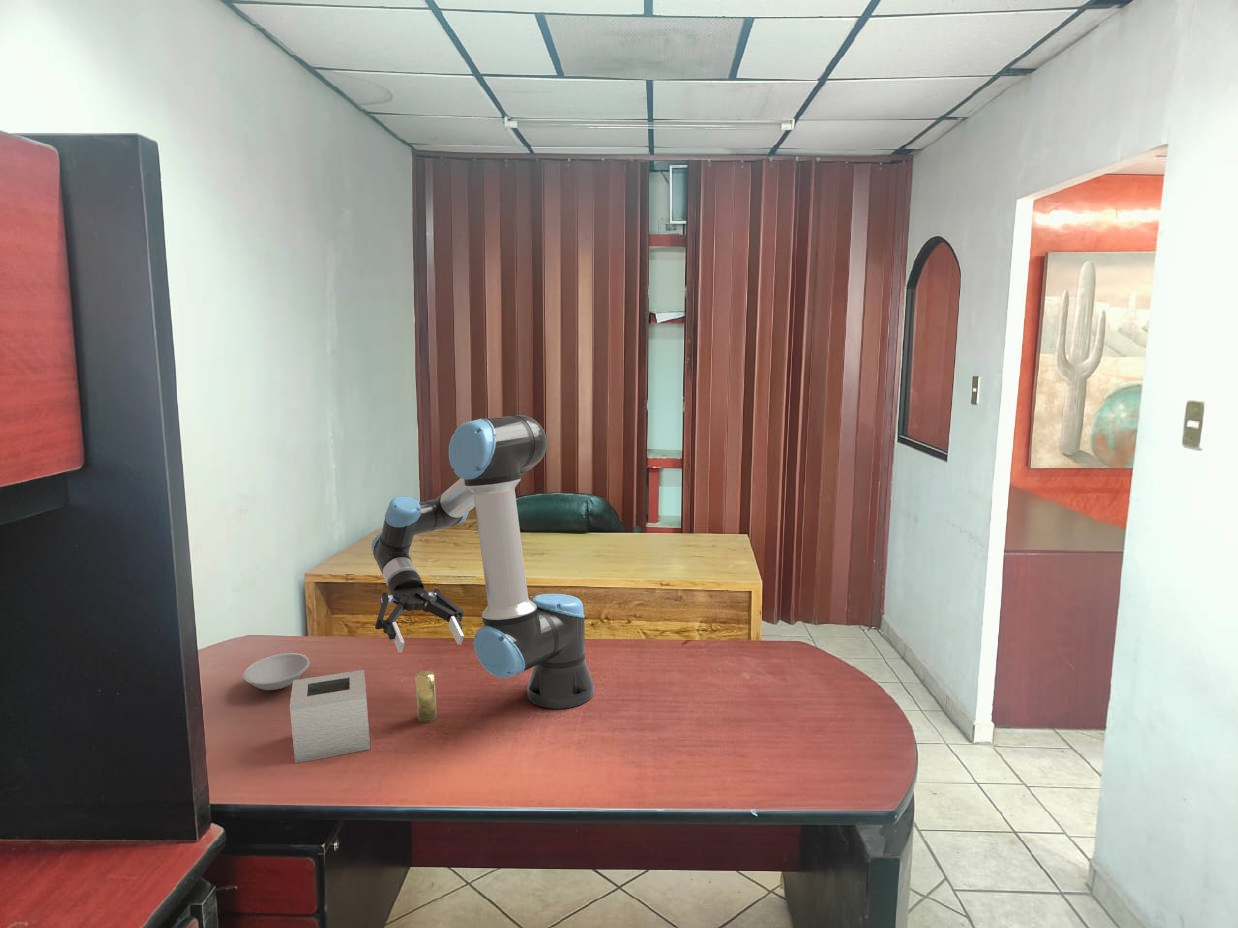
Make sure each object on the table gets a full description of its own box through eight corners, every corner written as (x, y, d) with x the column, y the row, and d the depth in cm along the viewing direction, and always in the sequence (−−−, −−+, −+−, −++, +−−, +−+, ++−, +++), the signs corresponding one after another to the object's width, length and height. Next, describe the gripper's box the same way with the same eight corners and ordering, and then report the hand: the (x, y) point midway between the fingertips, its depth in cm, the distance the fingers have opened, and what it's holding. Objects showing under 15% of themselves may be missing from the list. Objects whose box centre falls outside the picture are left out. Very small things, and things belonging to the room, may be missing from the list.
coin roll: (439, 713, 171) (436, 670, 169) (433, 722, 167) (430, 678, 165) (421, 713, 171) (418, 670, 170) (415, 722, 167) (412, 678, 166)
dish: (257, 674, 193) (255, 655, 193) (317, 669, 196) (316, 650, 195) (235, 707, 176) (232, 686, 175) (302, 700, 179) (300, 680, 178)
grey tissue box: (368, 722, 168) (364, 669, 166) (370, 749, 157) (366, 693, 155) (298, 734, 163) (293, 680, 161) (295, 763, 152) (289, 705, 150)
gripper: (449, 589, 193) (480, 649, 179) (346, 597, 179) (371, 663, 164) (456, 565, 190) (488, 625, 176) (353, 571, 176) (378, 637, 161)
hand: (432, 644), depth 170 cm, fingers open, 13 cm apart
